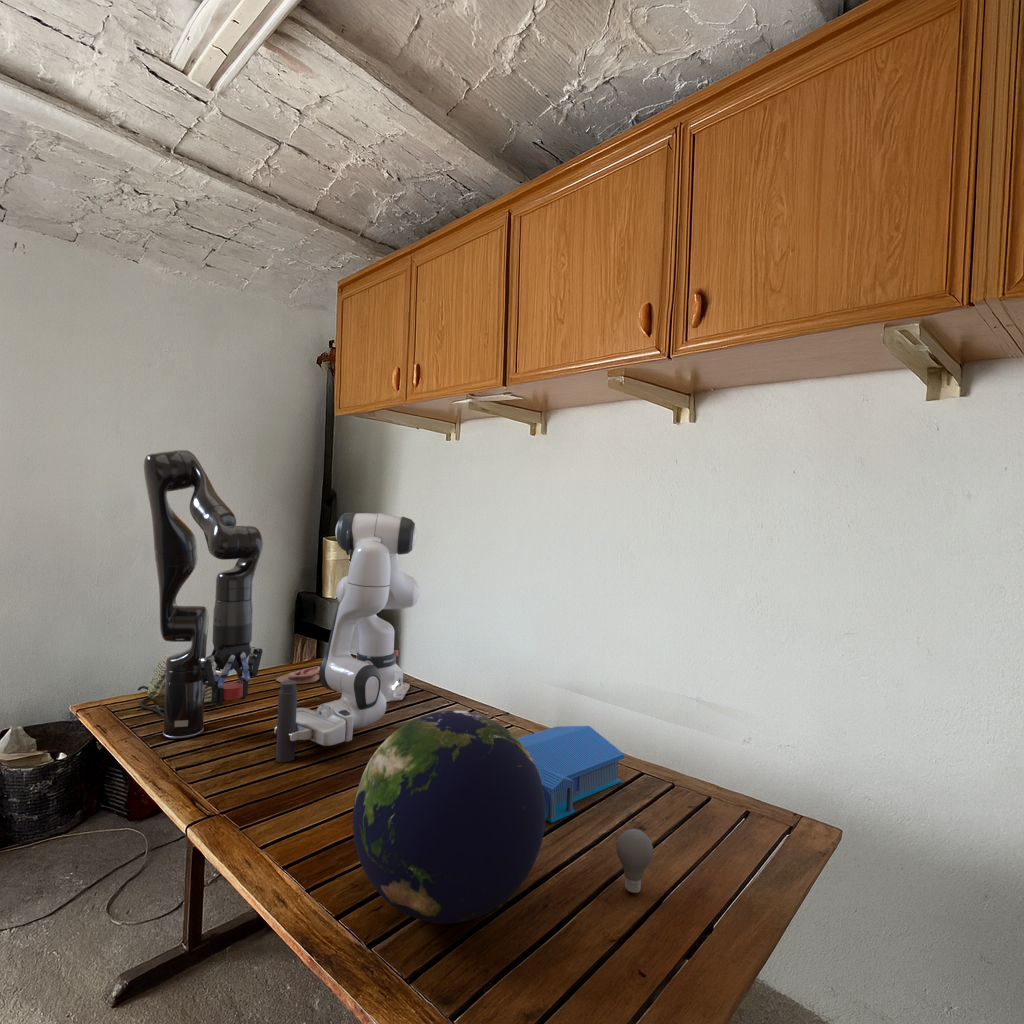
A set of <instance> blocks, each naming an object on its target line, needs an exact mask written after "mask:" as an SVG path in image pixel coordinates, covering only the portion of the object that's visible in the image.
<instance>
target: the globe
mask: <svg viewBox="0 0 1024 1024" xmlns="http://www.w3.org/2000/svg"><path fill="white" fill-rule="evenodd" d="M517 738H518V737H517V736H516V735H515V734H513V732H511V730H509V729H507V728H506V727H505V726H503V725H502V724H500V723H498V722H497V721H495V720H493V719H492V718H489V717H487V716H485V715H481V714H479V713H476V712H471V711H467V710H458V709H457V710H442V711H435V712H431V713H428V714H425V715H422V716H419V717H417V718H415V719H413V720H410V721H409V722H407V723H405V724H404V725H402V726H400V727H399V728H398V729H397V730H395V731H394V732H392V734H390V735H389V736H388V737H386V739H385V740H384V741H383V742H382V743H381V744H380V745H379V746H378V747H377V749H376V750H375V752H374V753H373V755H372V756H371V757H370V759H369V761H368V762H367V764H366V766H365V768H364V771H363V772H362V775H361V777H360V780H359V783H358V786H357V789H356V793H355V797H354V803H353V808H352V831H353V841H354V845H355V846H354V847H355V851H356V855H357V856H358V860H359V863H360V866H361V868H362V870H363V872H364V874H365V876H366V877H367V878H368V881H369V882H370V884H371V885H372V887H373V888H374V889H375V890H376V891H377V893H378V895H380V896H381V897H382V898H383V899H384V900H385V901H386V902H387V903H388V904H389V905H391V906H392V907H394V908H395V909H396V910H398V911H399V912H401V913H403V914H404V915H407V916H409V917H411V918H414V919H416V920H419V921H423V922H427V923H432V924H441V925H443V924H447V925H448V924H458V923H463V922H468V921H471V920H474V919H478V918H480V917H482V916H484V915H487V914H489V913H490V912H492V911H494V910H495V909H497V908H498V907H500V906H501V905H503V904H504V903H505V902H506V901H507V900H508V899H509V898H511V897H512V896H513V895H514V894H515V892H516V891H517V890H519V888H520V887H521V886H522V884H523V883H524V882H525V880H526V879H527V877H528V876H529V874H530V872H531V870H532V869H533V867H534V865H535V863H536V860H537V858H538V856H539V853H540V850H541V847H542V844H543V839H544V834H545V830H546V829H545V828H546V821H547V820H546V806H545V796H544V791H543V786H542V782H541V779H540V775H539V773H538V770H537V768H536V765H535V763H534V761H533V759H532V757H531V756H530V754H529V752H528V751H527V749H526V748H525V747H524V746H523V744H522V743H521V742H520V741H519V740H518V739H517Z"/></svg>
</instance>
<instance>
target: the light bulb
mask: <svg viewBox="0 0 1024 1024" xmlns="http://www.w3.org/2000/svg"><path fill="white" fill-rule="evenodd" d="M615 849H616V854H617V857H618V859H619V861H620V863H621V865H622V867H623V873H624V874H623V875H624V876H625V878H624V888H625V890H627V891H628V892H630V893H634V894H635V893H639V892H640V891H641V889H642V887H641V886H642V879H643V877H644V875H645V871H646V868H647V867H648V866H649V864H650V863H651V861H652V859H653V855H654V847H653V843H652V841H651V838H649V836H648V835H647V834H646V833H645V832H643V831H642V830H641V829H636V828H629V829H627V830H625V831H623V832H622V833H621V834H620V835H619V837H618V839H617V841H616V847H615Z"/></svg>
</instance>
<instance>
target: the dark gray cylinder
mask: <svg viewBox="0 0 1024 1024" xmlns="http://www.w3.org/2000/svg"><path fill="white" fill-rule="evenodd" d="M297 685H298V684H297V683H296V681H293V680H287V681H282V682H280V685H279V687H280V689H279V690H278V695H277V696H278V697H277V702H278V703H277V719H276V720H277V722H276V726H277V734H276V743H275V745H276V746H275V762H278V763H289V762H291V761H293V760H295V757H296V755H295V754H296V740H295V741H291V740H289V739H288V733H289V732H292V731H296V712H297V708H298V689H297Z"/></svg>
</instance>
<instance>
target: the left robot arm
mask: <svg viewBox="0 0 1024 1024" xmlns="http://www.w3.org/2000/svg"><path fill="white" fill-rule="evenodd" d="M143 474H144V481H145V488H146V490H147V497H148V503H149V507H150V509H149V510H150V514H151V522H152V523H151V524H152V535H153V536H152V537H153V550H154V561H155V567H156V574H157V582H158V593H159V600H158V601H159V631H160V635H161V638H162V639H163V641H165V642H168V643H170V642H171V643H190V647H189V648H187V649H185V650H182V651H180V652H176V653H174V654H170V655H171V656H170V657H168V658H167V660H166V674H165V705H164V710H163V711H160V710H158V709H156V707H152V706H148V705H145V704H144V703H145V702H147V701H149V700H151V699H150V698H149V697H148V696H147V697H145V698H144V699H142V700H141V701H140V702H139V706H140V707H141V708H143V709H145V710H149V711H151V712H155V713H157V714H159V715H160V716H161V717H162V718H163V731H162V737H164V738H166V739H169V740H185V739H190V738H191V739H192V738H194V737H197V736H199V735H202V734H203V732H204V730H205V729H204V722H205V721H204V718H205V706H204V693H205V685H207V686H210V687H212V698H211V700H212V702H213V705H214V706H217V707H219V706H222V705H224V700H223V687H222V686H223V684H224V683H225V680H226V678H228V676H229V673H230V671H232V670H233V671H235V672H236V673H235V674H236V675H237V678H238V680H237V681H236V682H238V683H242V684H243V696H242V697H241V698H238V700H245V699H246V698H247V696H248V695H249V681H250V679H252V678H253V677H254V678H255V677H256V676H258V674H259V673H258V672H259V668H260V664H261V660H262V655H263V652H264V651H263V648H260V647H256V646H251V642H252V641H253V639H252V638H253V615H254V614H253V612H254V610H253V582H254V581H253V580H254V576H255V574H256V570H257V567H258V564H259V561H260V558H261V555H262V552H263V547H264V540H263V535H262V533H261V531H260V530H259V529H258V528H257V527H256V526H253V525H237V516H236V515H235V514H234V512H233V511H232V510H231V509H230V507H229V506H228V505H227V504H226V503H225V501H223V500H222V498H221V497H220V496H219V495H218V493H217V492H216V490H215V488H214V485H212V484H213V483H212V482H211V480H210V478H209V477H208V475H207V473H206V472H205V469H204V467H203V466H202V464H201V462H200V461H199V459H198V458H197V456H196V455H195V454H194V453H193V452H191V451H190V450H188V449H187V450H186V449H177V450H170V451H162V452H154V453H150V454H147V455H146V456H145V458H144V462H143ZM189 488H192V489H193V492H192V494H191V498H190V500H189V512H190V515H191V517H192V519H193V520H194V522H195V523H196V524H197V525H198V527H199V528H200V529H201V531H203V535H204V538H205V542H206V545H207V550H208V552H209V554H210V555H211V556H213V558H215V559H217V560H222V561H227V560H228V561H230V560H237V561H236V562H235V565H234V566H233V567H231V568H229V569H226V570H223V571H221V572H219V573H217V576H216V578H215V579H216V580H215V600H214V606H213V615H212V617H213V618H212V621H213V622H212V645H213V649H212V652H211V654H209V655H208V656H207V645H208V632H209V623H210V622H209V620H210V617H209V616H210V615H209V610H208V608H207V607H206V606H205V605H178V604H177V596H178V594H179V593H180V591H181V589H182V587H183V586H184V585H185V583H186V582H187V580H188V579H189V578H190V577H191V575H192V574H193V573H194V570H195V569H196V567H197V564H198V548H197V539H196V538H197V537H196V536H195V533H193V531H192V530H191V529H190V527H189V526H188V525H187V524H186V523H185V522H184V521H183V520H182V519H181V518H180V517H179V516H178V514H176V513H175V511H174V509H172V508H171V505H170V503H169V501H168V500H169V499H168V493H169V492H175V491H180V490H181V491H182V490H187V489H189ZM247 659H248V660H247ZM214 663H215V664H214ZM221 670H222V671H221ZM148 688H149V686H146V685H141V686H139V687H138V688H137V691H141V690H142V689H144V690H146V691H148Z"/></svg>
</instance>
